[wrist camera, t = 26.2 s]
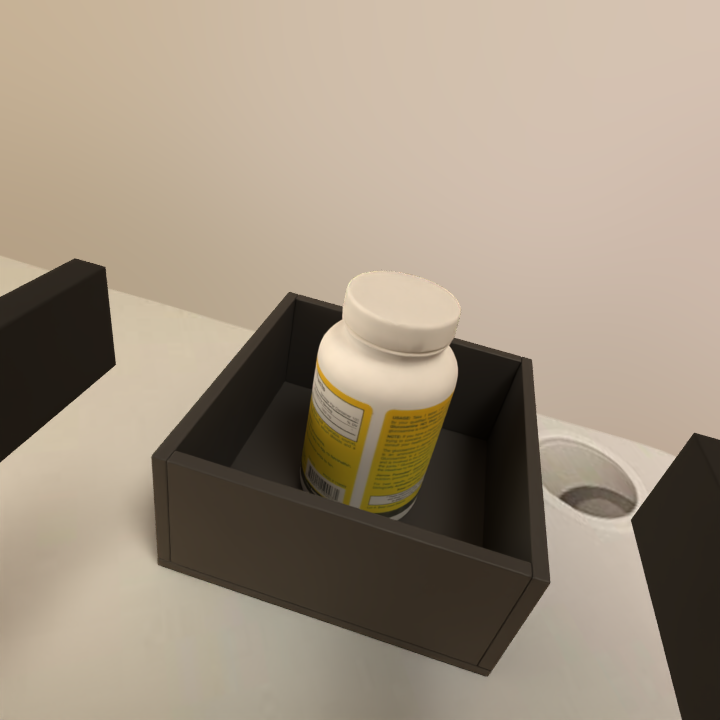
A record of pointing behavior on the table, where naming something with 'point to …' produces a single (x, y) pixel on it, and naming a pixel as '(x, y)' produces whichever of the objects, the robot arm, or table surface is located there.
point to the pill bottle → (381, 393)
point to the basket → (353, 525)
